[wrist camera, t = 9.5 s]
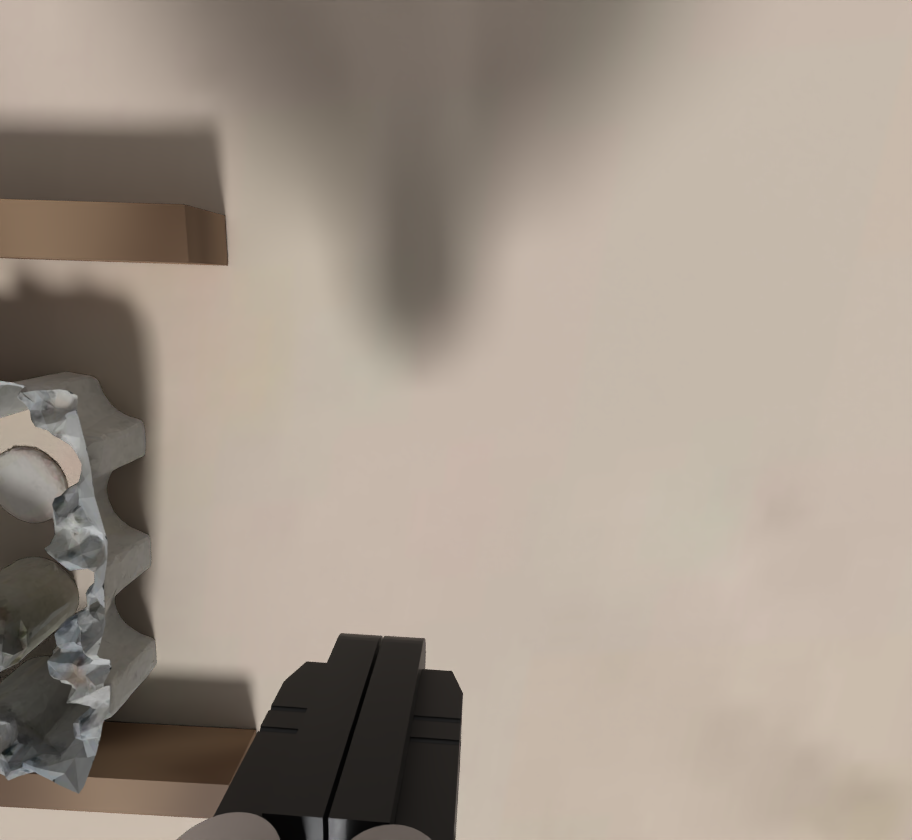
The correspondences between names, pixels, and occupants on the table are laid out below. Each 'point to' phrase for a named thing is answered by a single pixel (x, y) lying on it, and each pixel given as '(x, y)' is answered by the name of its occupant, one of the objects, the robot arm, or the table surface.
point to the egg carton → (68, 583)
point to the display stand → (121, 744)
